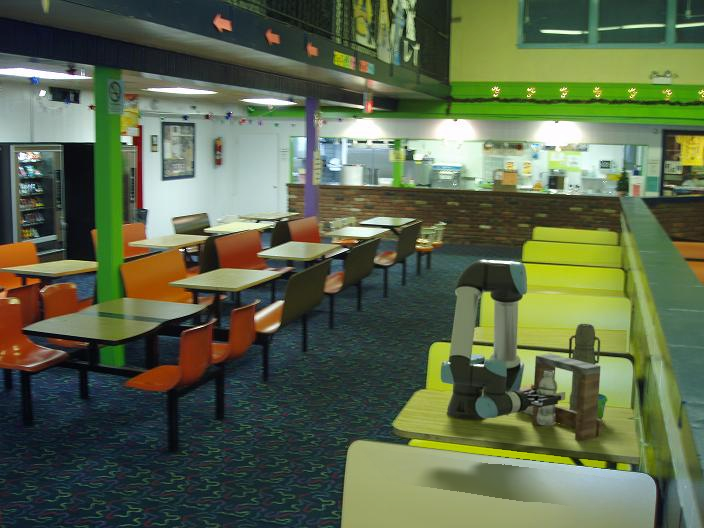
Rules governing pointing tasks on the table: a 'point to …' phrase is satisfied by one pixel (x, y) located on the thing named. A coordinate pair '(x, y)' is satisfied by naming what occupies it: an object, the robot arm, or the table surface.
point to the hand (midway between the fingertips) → (556, 393)
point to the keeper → (587, 395)
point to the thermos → (582, 355)
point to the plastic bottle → (545, 389)
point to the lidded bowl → (529, 408)
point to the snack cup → (601, 405)
